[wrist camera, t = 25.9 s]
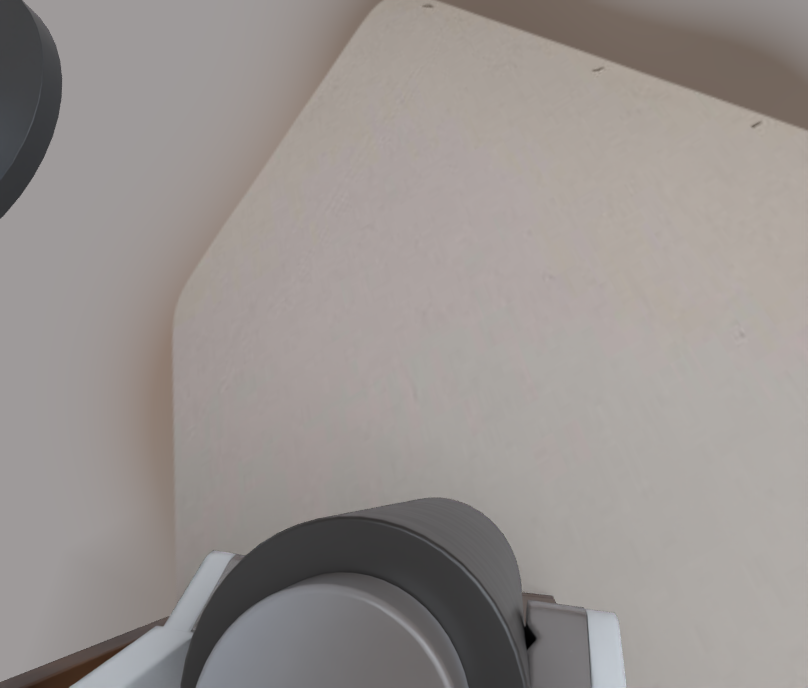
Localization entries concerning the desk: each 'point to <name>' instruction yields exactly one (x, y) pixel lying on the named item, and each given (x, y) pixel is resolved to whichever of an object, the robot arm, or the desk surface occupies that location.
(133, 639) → the chest door
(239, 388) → the desk surface
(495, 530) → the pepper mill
